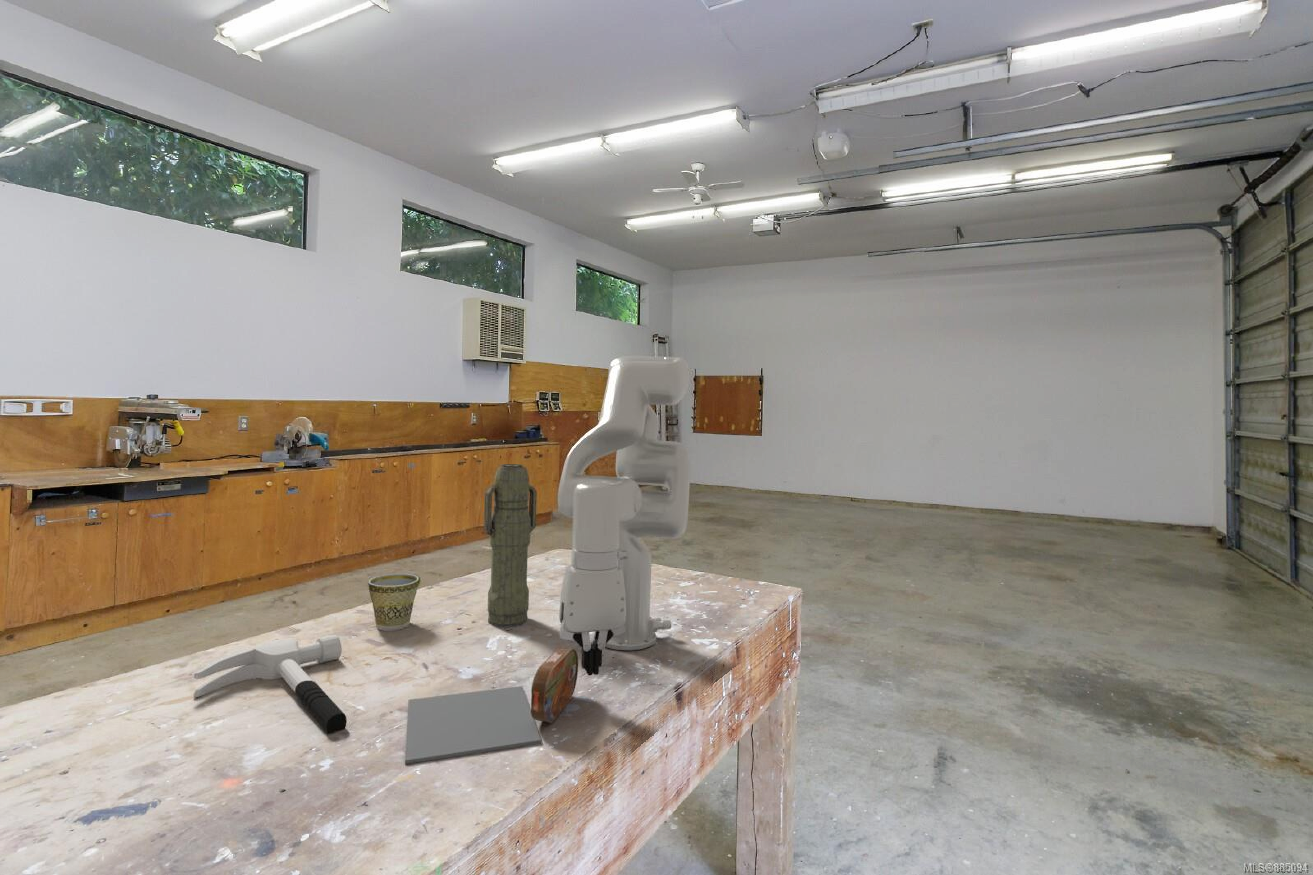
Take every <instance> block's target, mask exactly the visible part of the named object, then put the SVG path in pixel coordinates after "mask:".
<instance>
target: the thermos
mask: <svg viewBox="0 0 1313 875" xmlns="http://www.w3.org/2000/svg"><path fill="white" fill-rule="evenodd" d="M496 469H497V470H496V471H495V475H494V480H493V482H494V483H493V485H491V486H488V488H487V490H486V491H485V493H484V514H483V517H484V520H483V521H484V522H483V524H484V526H483V527H484V529H483V530H484V534H485V535H487V536H488V535H489V544H490V545H489V546H491V558H490V559H491V562H490V564H491V565H490V566H491V567H490V568H491V570H490V586H489V589H488V592H487V613H488V617H487V618H488V619H487V622H488V624H489V625H490V624H491V625H490V626H492V625H493V627H496V628H514V627H519V626H522V625H525V624H526V623H527V622H528V611H529V603H530V601H529V600H530V599H529V598H530V595H529V594H530V590H529V587H528V583H527V582H528V581H527V580H528V554H529V553H528V551H529V550H528V549H529V545H530V543H531V534H532V531H533V530H534V529H535V528H536V527H537V501H538V500H537V499H538V498H537V496H538V494H537V493H538V492H537V490H536V488H535V487H534V486H532V485H530V477H529V473H528V470H527V467H526V466H524V464H516V463H515V464H514V463H507V464H501V465H499V466H498V467H497V468H496ZM492 499H493V500H492ZM493 501H494V505H492V503H493ZM528 501H529V502H528ZM528 504H529V505H528ZM492 506H493V509H492ZM492 510H493V512H492Z"/></svg>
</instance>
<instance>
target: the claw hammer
mask: <svg viewBox="0 0 1313 875" xmlns="http://www.w3.org/2000/svg"><path fill="white" fill-rule="evenodd" d="M342 649H343V648H342V642H341V639H340V637H339V635H338V634H333V635H328V636H324V637H319V638H317V639H316V641H315V642H313V643H308V644H305V645H299V642H298V640H297V639H296V638H294V637H283V638H279V639H275V640H270V641H265V642H261V643H257V644H254V645H253V646H248V647H244V648H240V649H239V650H236V651H233V652H230V653H228V654H225V655H223V656H222V657H219V658H217V659H214V660H213V661H211V662H209V663H208V664H206V665H204V666H203V667H201V668H199V669H198V670H196V671H195V672H194V674H193V678H194V679H195V680H199V679H204V678H206V677H209V676H212V675H214V674H216V673H219V672H223V671H225V670H227V671H225V672H223V673H221V674H219V675H217V676H215V677H213V678H211V679H210V680H208V681H207V682H205V683H203V684H202V685H200V686H199V687H198V688H196V690H195V691H194V692H193V698H199V697H202V696H204V695H206V694H209V693H210V692H213V691H215V690H218V689H220V688H222V687H223V688H224V687H226V686H228V685H231V683H232V684H234V682H235V683H237V682H241V681H246V680H252V679H251V678H253V679H256V678H262V680H276V679H277V680H278V679H281V678H283V680H284V681H285V682H286V683H287V684H288V685H289V687H290V688H291V690H292V691H294V693H295V695H296V697H297V698H298V699H299V701H300V702H301V704H303V705H304V706H305V708H306V709H307V710H308V712H309V713H310V715H312V716H313V718H314V719H315V721H317V723H318V724H319V725H320V726H321V728H322V729H323V730H324V731H325V733H326V734H328V735H330V734H334V733H337V732H339V731H340V732H341V731H343V730H345V729H346V727H347V715H346V714H345V713H344V712H343V711H342V709H341V708H340V707H339V706H338V705H337V704H336V702H334V700H332V699H331V698H330V696H329V695H328V694H327V693H326V692H325V691H324V690H323V689H322V688H321V687H320V685H318V683H317V682H316V681H313V679H312V678H311V677H310V676H309V675H308V674H307V673H306V672H305V670H303V668H302V667H301V666H300V665H304V664H307V663H311V662H312V663H313V662H316V661H318V663H319V664H323V663H327V662H331V661H334V660H339V659H340V657H342V652H343V650H342Z"/></svg>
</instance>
